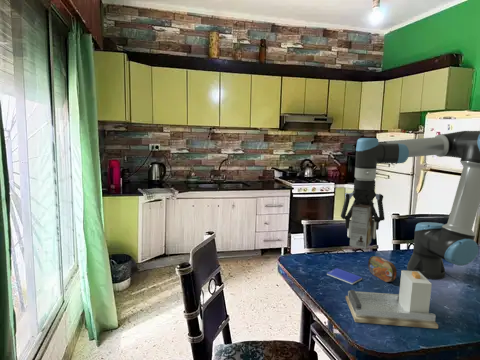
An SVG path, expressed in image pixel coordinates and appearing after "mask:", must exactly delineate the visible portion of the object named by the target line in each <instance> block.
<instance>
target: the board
mask: <svg viewBox="0 0 480 360" xmlns="http://www.w3.org/2000/svg"><path fill="white" fill-rule="evenodd" d="M345 300H346V303H347V306H348V308H349V312H350V313H351V315H352V318H353V320H354V322H355V323H362V324H372V325H373V324H375V325H385V326H386V325H387V326H388V325H389V326H399V327H411V328H413V327H414V328H422V329H423V328H425V329H435V330H436V329H439V324H438V323H437V322H436V321H435V323H429V322H417V321H404V320H391V319H378V318H366V317H356V315H355V313H354V311H353V308H352V306H351V304H350V301H349V299H348V295H345Z"/></svg>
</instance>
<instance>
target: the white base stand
mask: <svg viewBox="0 0 480 360" xmlns="http://www.w3.org/2000/svg"><path fill="white" fill-rule="evenodd" d="M347 296H348V299H349V301H350V304H351V306H352V308H353V311H354V313H355V315H356V317H366V318H378V319H391V320H404V321H417V322H429V323H435V322H436V318H437V317H436V314H435V313H431V312H429V313H420V312H407V311H405V310H404V309H403V307H402V306H401V305H400V303H399V302H398V301H399V293H385V292H373V291H372V292H371V291H370V292H368V291H356V290H355V289H349V290H348V291H347Z"/></svg>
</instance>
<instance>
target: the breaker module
mask: <svg viewBox="0 0 480 360" xmlns="http://www.w3.org/2000/svg"><path fill="white" fill-rule="evenodd" d="M400 273H401V275H400V280H399V281H400V283H399V292H398V294H399V301H398V302H399V303H400V305H401V306H402V307H403V309H404V310H405V311H407V312H420V313H430V303H431V294H432V285H433V284H432V282H430V281H429V279H428V278H425V277H424V276H423V275H422V274H421V273H420V272H419V271H408V270H405V269H401V272H400Z"/></svg>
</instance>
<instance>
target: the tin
mask: <svg viewBox="0 0 480 360" xmlns="http://www.w3.org/2000/svg"><path fill="white" fill-rule="evenodd" d="M367 266H368V271H369V272H370V273H371V274H372V276H374V277H376V278H378V279H380V280H381V281H383V282H385V283H389V282H394V281H395V280H396V279H397V274H398V273H397V272H398V271H397V268H396V265H395V264H394V263H392V262H391V261H389V260H387V259H385V258H383V257H380V256H379V255H377V256H374V255H372V256H371V257H369V259H368V262H367Z"/></svg>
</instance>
